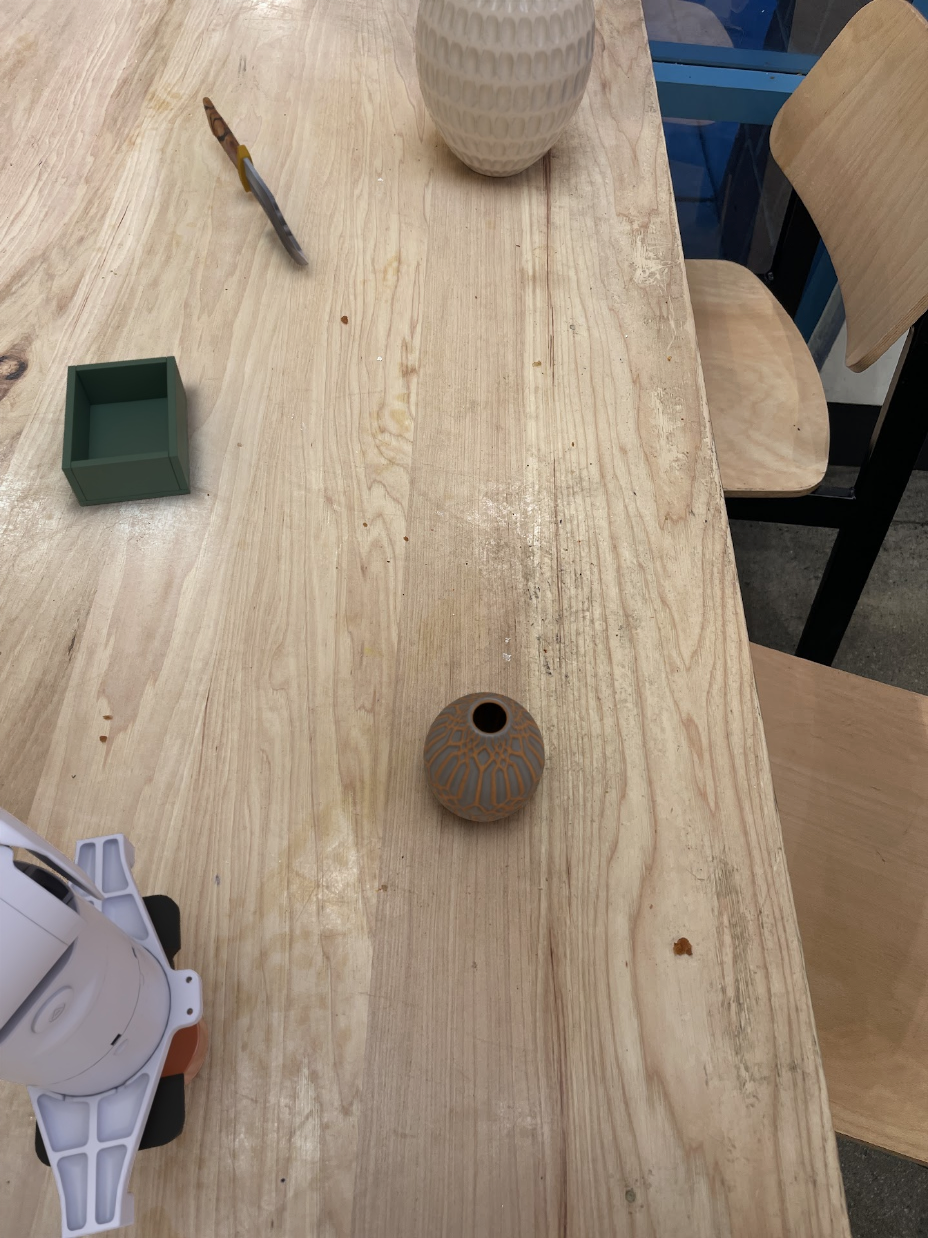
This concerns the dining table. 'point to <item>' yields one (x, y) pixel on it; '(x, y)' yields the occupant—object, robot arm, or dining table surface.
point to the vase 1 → (503, 75)
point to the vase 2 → (484, 756)
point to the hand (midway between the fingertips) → (154, 1043)
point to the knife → (252, 180)
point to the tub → (126, 431)
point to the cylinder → (187, 1051)
